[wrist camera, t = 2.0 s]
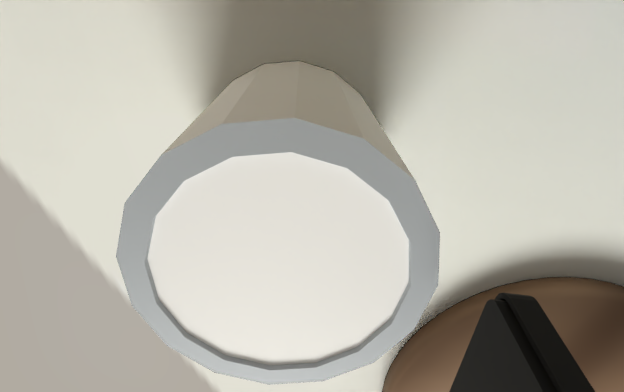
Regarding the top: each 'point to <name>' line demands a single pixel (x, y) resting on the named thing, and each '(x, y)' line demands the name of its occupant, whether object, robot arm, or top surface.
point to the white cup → (280, 233)
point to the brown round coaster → (559, 309)
